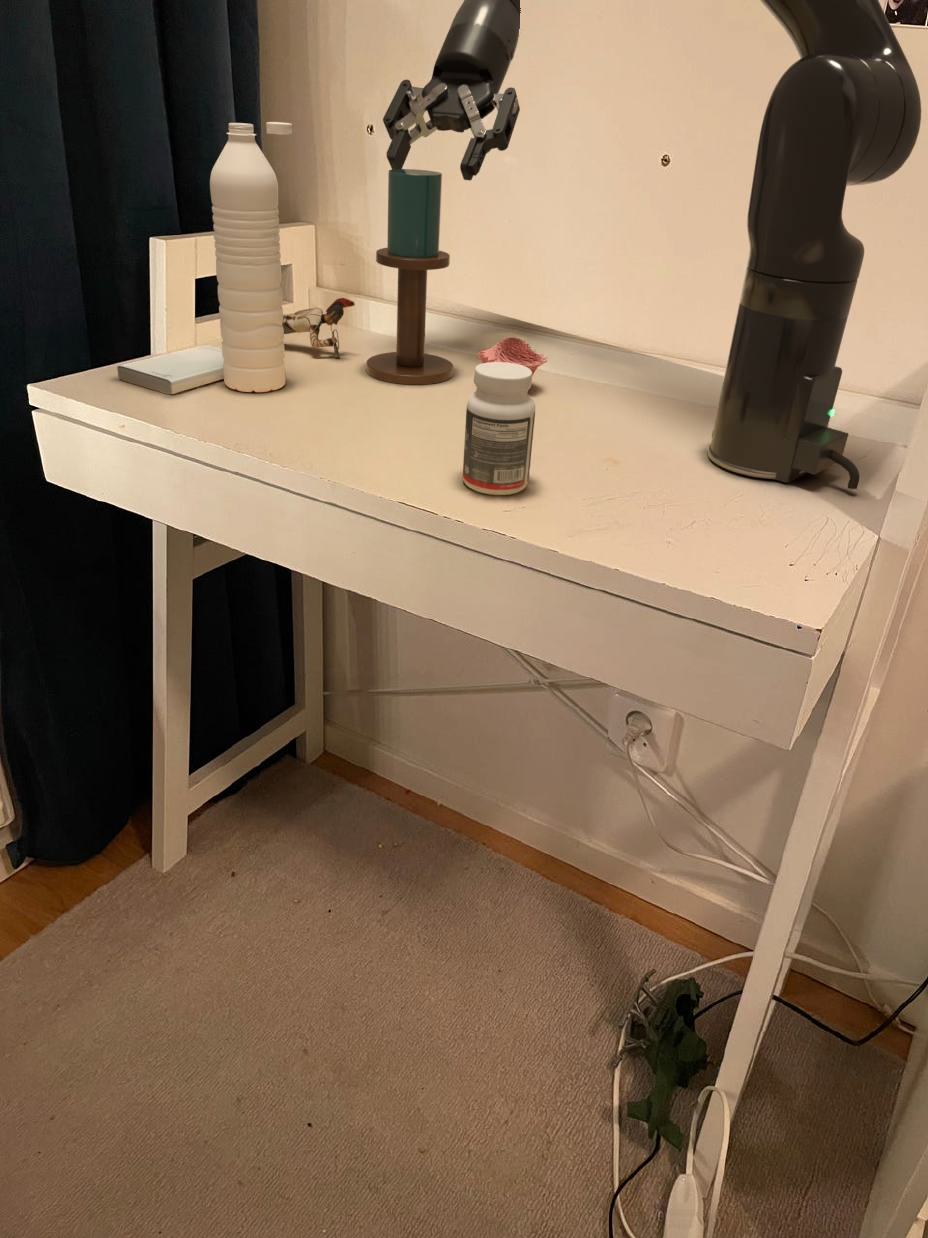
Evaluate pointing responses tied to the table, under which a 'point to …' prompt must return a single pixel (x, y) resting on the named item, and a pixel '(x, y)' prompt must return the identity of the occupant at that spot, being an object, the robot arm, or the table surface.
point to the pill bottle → (499, 429)
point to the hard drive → (176, 370)
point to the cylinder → (414, 213)
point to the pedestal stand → (410, 325)
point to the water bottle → (248, 261)
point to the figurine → (317, 322)
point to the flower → (513, 354)
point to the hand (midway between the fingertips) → (428, 170)
